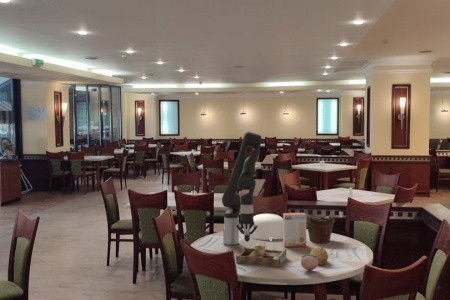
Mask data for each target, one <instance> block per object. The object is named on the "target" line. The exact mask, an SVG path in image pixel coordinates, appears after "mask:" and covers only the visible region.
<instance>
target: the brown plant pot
mask: <svg viewBox="0 0 450 300" xmlns="http://www.w3.org/2000/svg"><path fill="white" fill-rule="evenodd" d="M334 223H336V220H335V217H334V216H333V215H330V214H326V215H324V216H322V215H321V216H320V215H314V214H309V213H307V214H306V228H307V232H308V237H309V241H310V242H312V243H318V244H326V243H329V242H330V240H331V237H332V231H333V227H334Z"/></svg>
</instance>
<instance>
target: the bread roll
mask: <svg viewBox="0 0 450 300" xmlns="http://www.w3.org/2000/svg"><path fill="white" fill-rule="evenodd" d="M309 253H310V255H311V254H314V255H316V256H318V257H319V258H318V257H317V259H318V266H323V265H326V263H327V262H328V260H329V259H328V258H329V255H328V252H327V250H326V249H325V248H323V247H315V248H314V247H313V249H311V250H310V251H309Z"/></svg>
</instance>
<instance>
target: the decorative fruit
mask: <svg viewBox="0 0 450 300" xmlns="http://www.w3.org/2000/svg"><path fill="white" fill-rule="evenodd" d="M317 257H318V256H316V255H314V254H311V255H310V252H309V253H308V254H305V253H304V254H303V255H301V256H300V258H301V259H300V265H301V267H302V268H303V269H305V270H306V271H307V272H312V271H313V270H315V269H316V268H317V267H319V265H318V259H317ZM318 258H319V257H318Z"/></svg>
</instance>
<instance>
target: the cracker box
mask: <svg viewBox="0 0 450 300" xmlns="http://www.w3.org/2000/svg"><path fill="white" fill-rule="evenodd" d="M306 217H307V214H306V213H305V212H288V213H286V212H285V213H284V212H283V213H282V218H283V239H282V245H283V247H284V248H297V247H298V248H302V247H304V248H306V247H307V223H306V221H307V220H306Z"/></svg>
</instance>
